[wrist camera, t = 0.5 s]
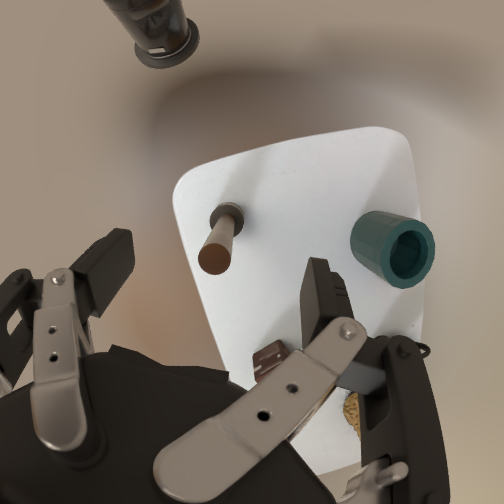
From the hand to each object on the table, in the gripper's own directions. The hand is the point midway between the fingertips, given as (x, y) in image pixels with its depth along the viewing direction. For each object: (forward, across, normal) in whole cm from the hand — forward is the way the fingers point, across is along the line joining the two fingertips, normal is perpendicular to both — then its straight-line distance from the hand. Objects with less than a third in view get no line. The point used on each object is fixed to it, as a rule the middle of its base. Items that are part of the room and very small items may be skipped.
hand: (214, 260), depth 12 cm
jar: (+30, -21, +12) cm, 39 cm away
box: (+22, -8, +34) cm, 41 cm away
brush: (+28, +3, +11) cm, 30 cm away
